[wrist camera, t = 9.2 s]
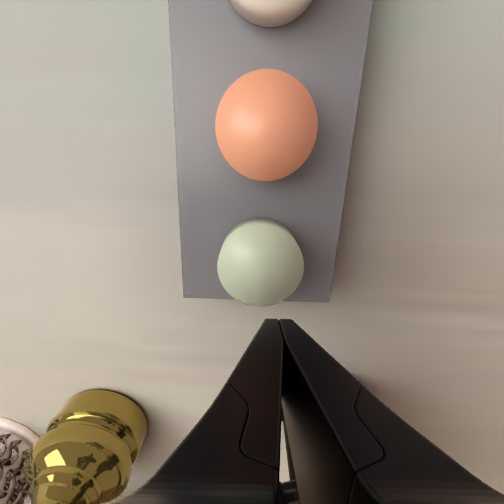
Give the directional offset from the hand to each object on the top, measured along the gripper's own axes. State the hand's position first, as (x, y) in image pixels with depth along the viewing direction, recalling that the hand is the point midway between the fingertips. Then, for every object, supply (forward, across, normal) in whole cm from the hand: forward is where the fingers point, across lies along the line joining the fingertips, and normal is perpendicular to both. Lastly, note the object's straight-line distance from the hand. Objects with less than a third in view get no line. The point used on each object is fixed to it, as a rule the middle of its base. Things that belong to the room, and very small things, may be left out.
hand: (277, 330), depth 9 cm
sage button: (+7, 0, 0) cm, 7 cm away
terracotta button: (+7, 0, -6) cm, 10 cm away
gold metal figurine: (+10, +13, +17) cm, 23 cm away
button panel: (+10, 0, -6) cm, 12 cm away
